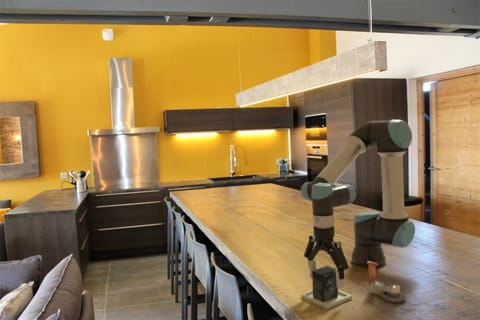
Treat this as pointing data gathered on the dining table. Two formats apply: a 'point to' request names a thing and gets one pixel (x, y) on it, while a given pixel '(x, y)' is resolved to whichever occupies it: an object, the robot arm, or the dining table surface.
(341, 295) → the tray
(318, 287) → the box
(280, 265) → the dining table surface
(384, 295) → the crank base
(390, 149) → the robot arm
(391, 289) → the crank
